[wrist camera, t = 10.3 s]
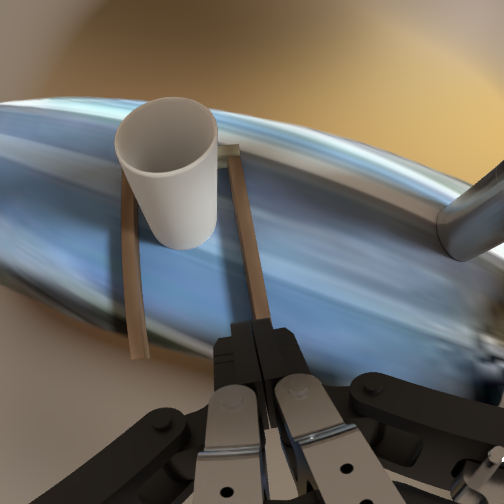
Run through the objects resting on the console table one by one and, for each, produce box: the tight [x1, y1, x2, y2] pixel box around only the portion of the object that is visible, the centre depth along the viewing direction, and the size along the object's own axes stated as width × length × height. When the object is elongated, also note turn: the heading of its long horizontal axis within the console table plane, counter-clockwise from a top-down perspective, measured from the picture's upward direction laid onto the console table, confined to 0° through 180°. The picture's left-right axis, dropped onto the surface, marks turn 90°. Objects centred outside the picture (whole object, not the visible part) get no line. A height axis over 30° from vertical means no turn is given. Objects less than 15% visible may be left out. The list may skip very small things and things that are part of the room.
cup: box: [114, 97, 218, 250], centre depth 29 cm, size 8×8×16 cm
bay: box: [121, 144, 272, 360], centre depth 34 cm, size 15×24×3 cm, turn 10°
